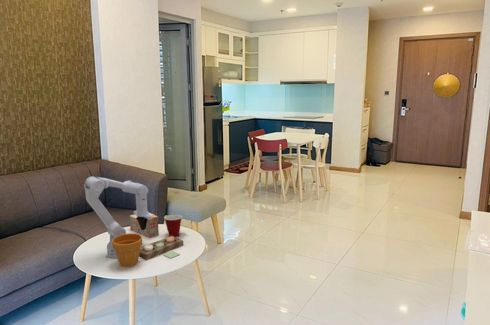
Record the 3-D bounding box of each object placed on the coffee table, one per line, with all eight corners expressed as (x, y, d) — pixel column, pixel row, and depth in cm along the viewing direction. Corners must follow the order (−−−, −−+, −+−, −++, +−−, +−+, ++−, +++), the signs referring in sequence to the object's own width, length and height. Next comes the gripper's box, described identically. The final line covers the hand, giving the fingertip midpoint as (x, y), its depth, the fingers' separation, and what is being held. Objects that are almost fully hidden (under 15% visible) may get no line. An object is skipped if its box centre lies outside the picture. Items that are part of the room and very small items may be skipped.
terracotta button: (169, 245, 202) (169, 240, 201) (164, 243, 205) (164, 238, 204) (176, 242, 205) (175, 237, 205) (171, 240, 208) (170, 235, 207)
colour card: (170, 258, 189) (170, 257, 189) (163, 255, 193) (163, 254, 193) (179, 254, 194) (179, 254, 194) (172, 251, 198) (172, 250, 198)
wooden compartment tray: (146, 260, 188) (146, 254, 187) (135, 254, 195) (135, 249, 194) (183, 245, 206) (183, 240, 205) (172, 240, 212) (171, 235, 212)
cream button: (147, 254, 192) (147, 248, 191) (142, 251, 194) (142, 246, 194) (154, 251, 195) (154, 246, 194) (149, 248, 198) (149, 243, 197)
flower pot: (120, 256, 193) (118, 233, 190) (147, 256, 192) (145, 233, 190) (109, 269, 179) (107, 244, 176) (138, 269, 178) (136, 244, 176)
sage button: (159, 251, 197) (158, 246, 196) (154, 249, 200) (153, 244, 199) (165, 248, 200) (165, 243, 200) (160, 246, 203) (160, 241, 203)
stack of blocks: (130, 229, 230) (128, 210, 227) (138, 227, 234) (137, 208, 232) (150, 238, 216) (148, 218, 213) (159, 235, 220) (157, 215, 218)
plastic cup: (185, 232, 224) (184, 213, 222) (181, 239, 214) (180, 219, 211) (167, 232, 225) (166, 213, 223) (162, 239, 214) (161, 219, 212)
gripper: (155, 206, 200) (157, 230, 203) (140, 201, 210) (142, 224, 212) (144, 209, 195) (146, 234, 198) (129, 204, 204) (131, 227, 207)
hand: (143, 229), depth 205 cm, fingers closed
